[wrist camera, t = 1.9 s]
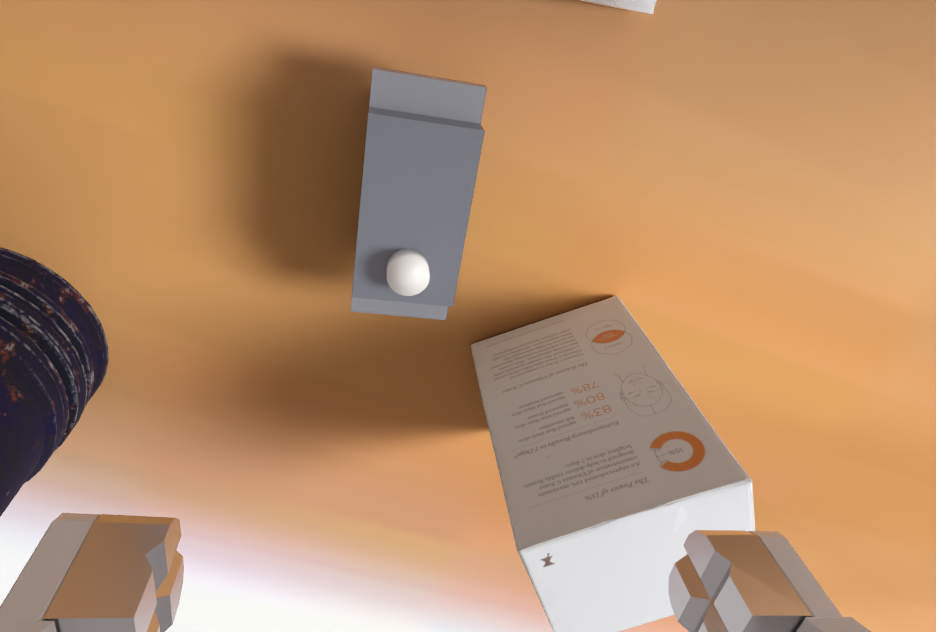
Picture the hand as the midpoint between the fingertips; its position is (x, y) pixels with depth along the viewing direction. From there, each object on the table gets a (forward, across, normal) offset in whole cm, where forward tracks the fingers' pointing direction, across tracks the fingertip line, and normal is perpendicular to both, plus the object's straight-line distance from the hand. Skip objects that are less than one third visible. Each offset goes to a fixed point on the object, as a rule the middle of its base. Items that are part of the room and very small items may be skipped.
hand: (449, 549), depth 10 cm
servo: (+20, 0, 0) cm, 20 cm away
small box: (+20, -9, +9) cm, 23 cm away
